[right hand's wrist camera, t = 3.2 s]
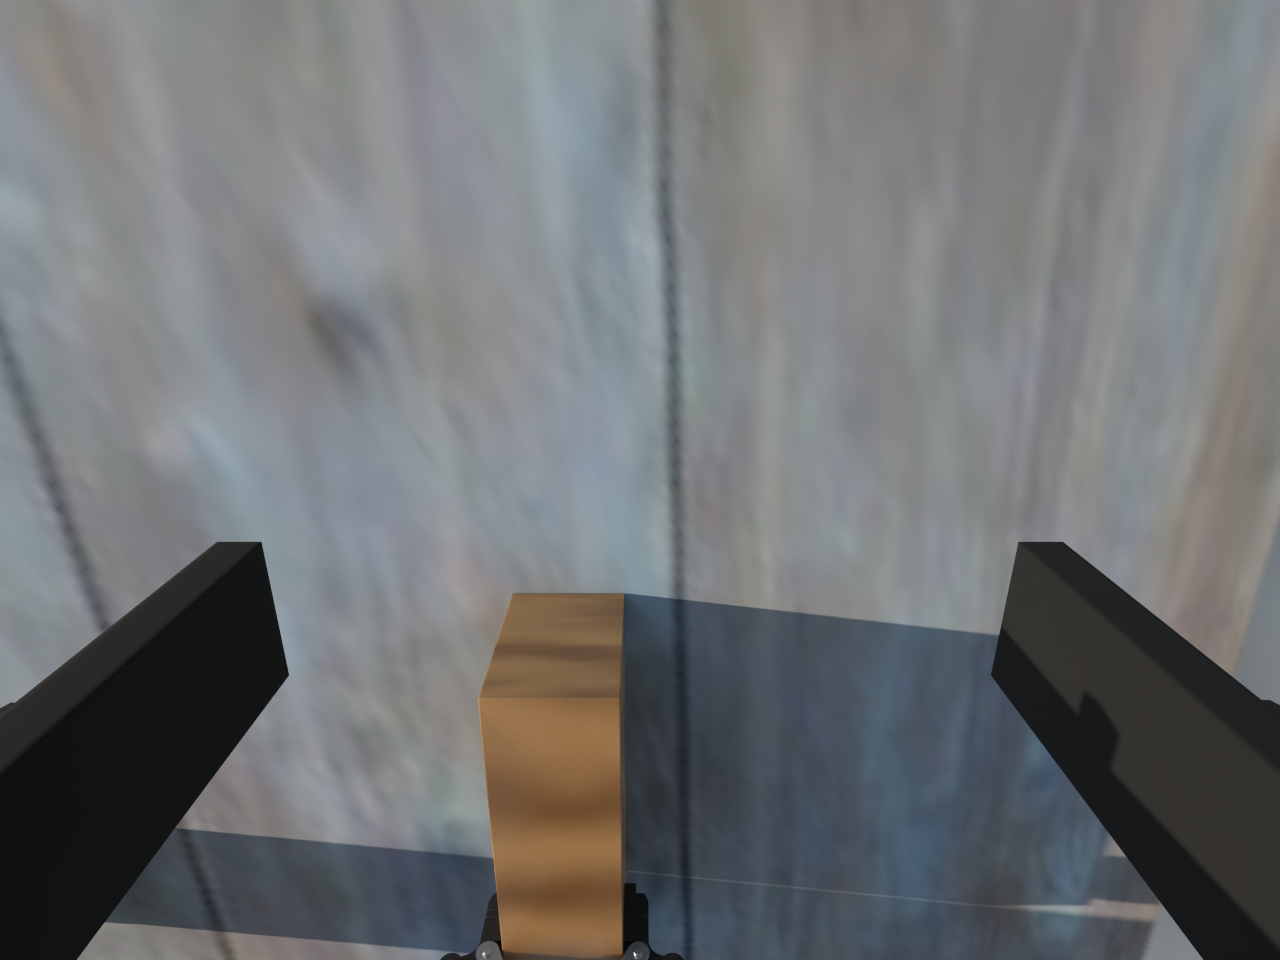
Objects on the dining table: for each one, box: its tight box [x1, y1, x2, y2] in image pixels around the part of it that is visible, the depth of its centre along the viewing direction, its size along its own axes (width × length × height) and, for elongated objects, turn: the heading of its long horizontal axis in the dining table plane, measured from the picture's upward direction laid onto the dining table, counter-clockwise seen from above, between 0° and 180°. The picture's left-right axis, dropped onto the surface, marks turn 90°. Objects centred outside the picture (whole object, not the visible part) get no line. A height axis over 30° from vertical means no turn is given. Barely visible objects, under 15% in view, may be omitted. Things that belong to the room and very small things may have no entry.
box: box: [478, 594, 627, 960], centre depth 40 cm, size 20×6×9 cm, turn 0°
